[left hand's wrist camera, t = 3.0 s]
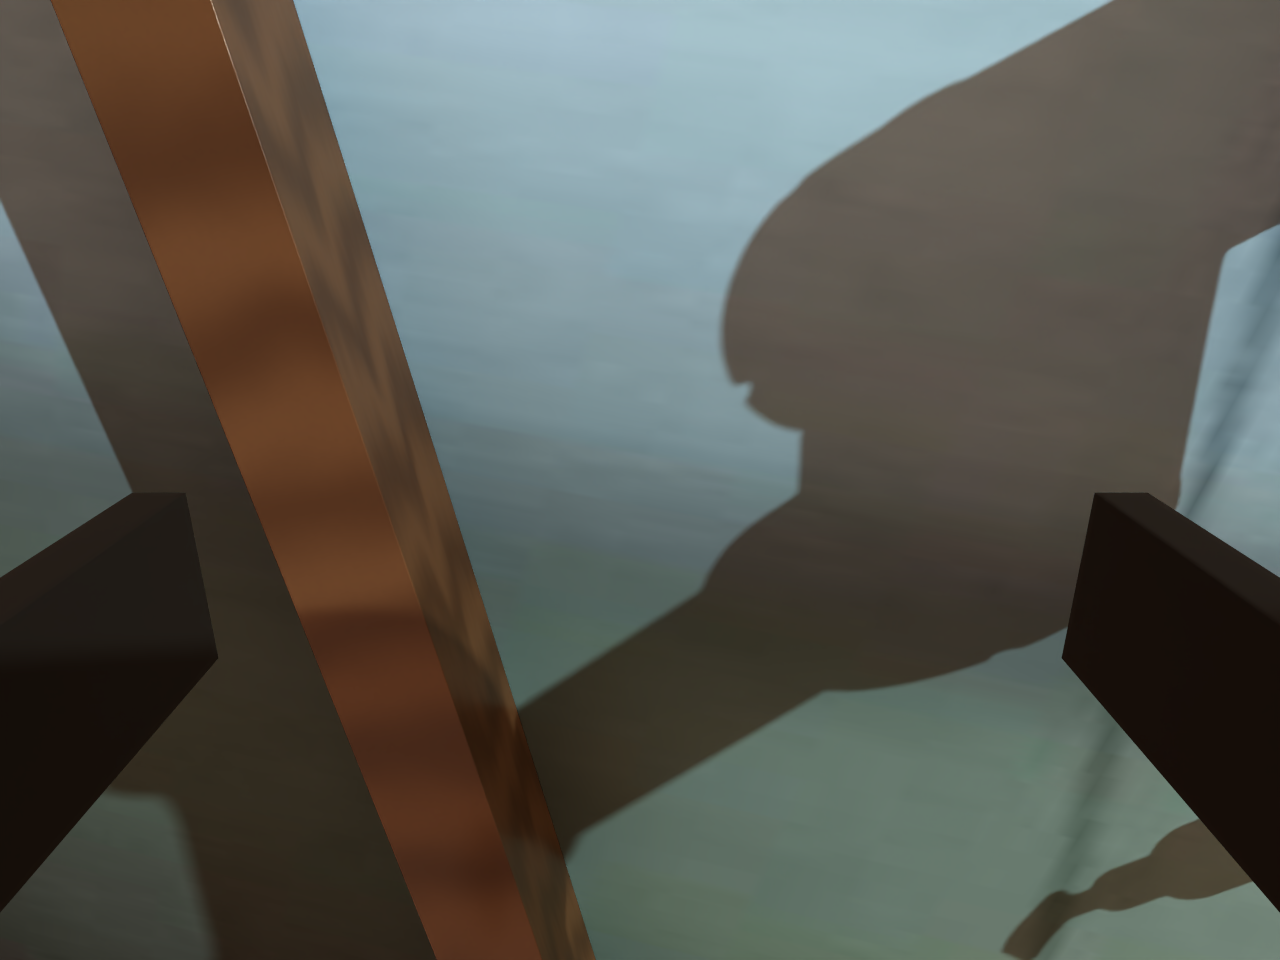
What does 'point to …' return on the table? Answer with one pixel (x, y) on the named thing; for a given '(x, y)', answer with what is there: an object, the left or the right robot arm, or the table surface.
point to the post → (332, 446)
